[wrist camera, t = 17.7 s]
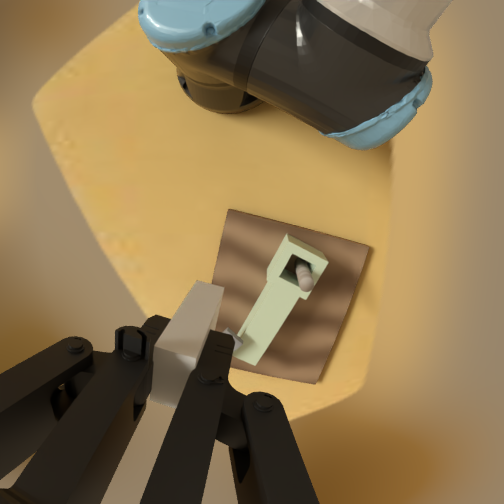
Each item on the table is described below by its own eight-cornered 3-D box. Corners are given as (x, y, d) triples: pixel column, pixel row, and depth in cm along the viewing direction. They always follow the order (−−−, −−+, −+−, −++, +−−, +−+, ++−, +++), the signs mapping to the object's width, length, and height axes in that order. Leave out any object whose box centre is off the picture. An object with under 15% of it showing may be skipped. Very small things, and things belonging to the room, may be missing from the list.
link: (286, 233, 44) (288, 241, 39) (322, 252, 44) (328, 262, 39) (229, 335, 48) (225, 352, 44) (262, 350, 49) (261, 368, 44)
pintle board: (228, 208, 44) (217, 219, 35) (367, 245, 44) (390, 264, 35) (197, 355, 51) (184, 390, 41) (314, 381, 51) (321, 418, 41)
